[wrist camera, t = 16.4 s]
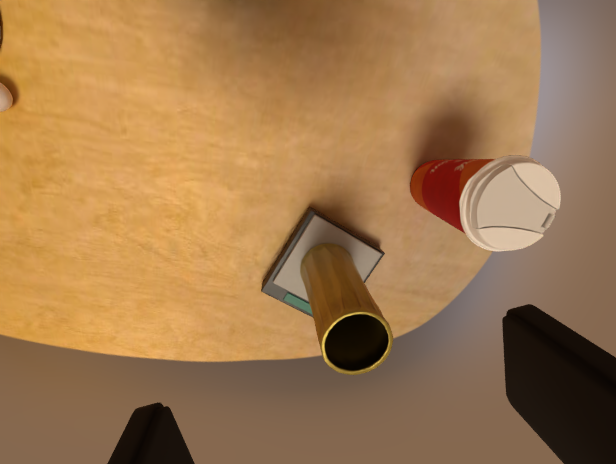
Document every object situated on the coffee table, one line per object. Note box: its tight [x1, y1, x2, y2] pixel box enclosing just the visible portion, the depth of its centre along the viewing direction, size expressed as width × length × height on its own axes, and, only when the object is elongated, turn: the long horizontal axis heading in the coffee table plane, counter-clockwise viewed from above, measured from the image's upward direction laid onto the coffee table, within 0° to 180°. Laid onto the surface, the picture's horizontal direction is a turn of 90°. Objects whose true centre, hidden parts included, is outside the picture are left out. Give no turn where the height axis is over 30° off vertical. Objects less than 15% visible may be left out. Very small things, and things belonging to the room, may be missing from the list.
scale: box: [261, 207, 385, 317], centre depth 38 cm, size 10×11×3 cm
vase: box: [300, 243, 393, 375], centre depth 30 cm, size 6×6×14 cm
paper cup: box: [410, 155, 561, 251], centre depth 31 cm, size 8×8×14 cm
